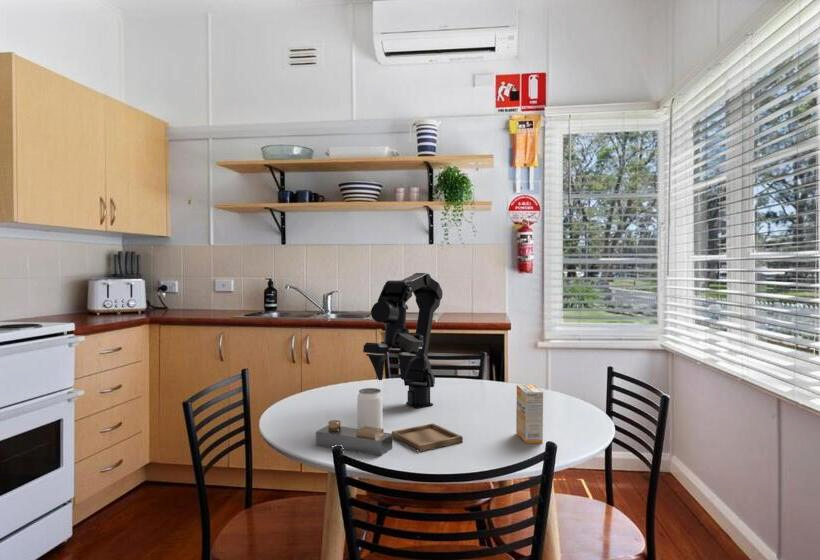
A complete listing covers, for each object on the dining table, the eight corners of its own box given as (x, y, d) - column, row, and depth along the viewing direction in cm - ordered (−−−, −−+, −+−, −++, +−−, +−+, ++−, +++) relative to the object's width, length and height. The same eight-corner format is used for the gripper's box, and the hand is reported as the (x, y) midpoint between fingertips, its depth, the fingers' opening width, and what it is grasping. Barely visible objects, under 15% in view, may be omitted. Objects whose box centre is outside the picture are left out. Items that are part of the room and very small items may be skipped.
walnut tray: (432, 428, 145) (432, 423, 145) (462, 442, 134) (462, 436, 134) (391, 437, 138) (391, 431, 138) (419, 452, 127) (419, 445, 127)
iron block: (315, 445, 131) (315, 423, 131) (329, 438, 137) (328, 416, 137) (381, 456, 124) (381, 432, 124) (392, 447, 130) (392, 425, 130)
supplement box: (515, 433, 141) (515, 384, 141) (533, 433, 142) (533, 383, 141) (524, 443, 133) (524, 391, 132) (543, 443, 133) (543, 391, 133)
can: (378, 441, 134) (378, 394, 134) (354, 439, 136) (354, 392, 135) (385, 433, 141) (385, 388, 140) (361, 431, 142) (361, 387, 142)
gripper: (392, 323, 139) (388, 383, 138) (438, 327, 153) (435, 382, 151) (363, 322, 147) (359, 379, 145) (409, 325, 160) (406, 378, 159)
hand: (391, 379), depth 150 cm, fingers open, 9 cm apart
